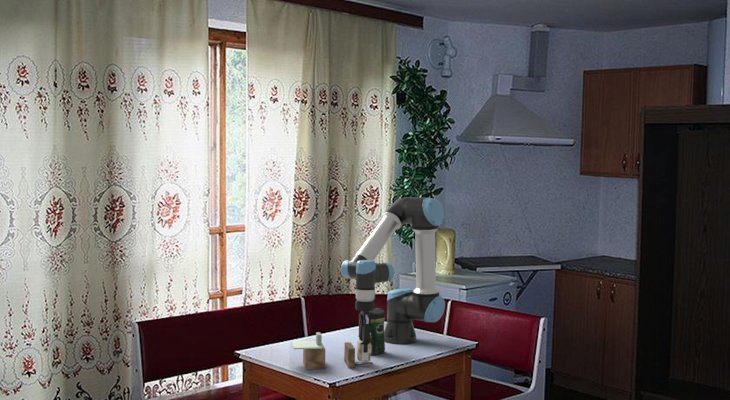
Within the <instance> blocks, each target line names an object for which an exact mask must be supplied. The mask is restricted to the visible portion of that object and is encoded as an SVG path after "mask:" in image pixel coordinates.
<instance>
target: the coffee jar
mask: <svg viewBox="0 0 730 400" xmlns="http://www.w3.org/2000/svg"><path fill="white" fill-rule="evenodd" d="M369 315H370V319H371V323H370V343H371V356H372V355H373V356H374V355H375V356H376V355H380V354H384V353H385V352H386V351H385V350H386V342H385V340H384V330H385V321H386V320H385V319H386V312H385V310H384V309H383V308H380V307H379V308H378V307H374V310H372V311H369Z"/></svg>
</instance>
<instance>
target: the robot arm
mask: <svg viewBox="0 0 730 400" xmlns="http://www.w3.org/2000/svg"><path fill="white" fill-rule="evenodd" d="M444 218H445V211H444V207H443V205H442V203H441V202H440V201H439V200H438V199H437V198H431V197H411V196H406V197H402V198H400V199H398V200H395V202H393V203H392V204H390V205H389V206H388V207H387V208H386V210H385V211H384V212H383V214H382V215H381V220H380V221H379V223H378V224H377V225H376V227H375V228H374V229H373V231H372V232H371V234H370V235H369V236H368V237H367V239H366V240H365V241H364V243H363V244H362V246H361V247H360V248H358V249H359V250H358V251H357V252H356V254H355V255H354V256H353V258H352V259H345V260H344V261H343V262H342V264H341V265H340V273H341V275H342V276H343V277H344V278H346V279H351V280H355V291H354V295H355V299H356V300H355V304H354V305H355V306H354V307H355V310H356V311H360V312H359V313H358V337H357V338H359V339H358V341H362V343H361V344H362V351H361V361H368V357H369V344H370V323H371V319H370V315H369V311H372V310H374V308H375V299H376V284H378V283H380V284H381V283H386V282H389V281H391V280H392V279H393V278H394V277H395V268H394V266H393V265H392V264H391V263H388V262H380V263H379V262H376V261H375V259H376V257H378V255H379V254H380V252H381V251H382V249H383V248H384V246H386V244H387V243H388V241H389V240H390V238H391V237H392V236H393V234H394V233H395V232H396V230H399V229H401V228H402V226H403V225H406V224H410V225H411V230H412V231H413V232H414V236H415V238H414V239H415V240H414V241H415V242H414V243H415V245H414V246H415V288H414V289H413V288H408V287H406V288H398V289H397V288H396V289H391V290H389V291H388V292H387V298H386V325H385V326H384V340H385V343H388V344H396V345H397V344H399V345H405V344H406V345H407V344H413V343H416V342H417V333H416V330H415V327H414V324H413V323H414V321H415V320H416V321H421V322H425V323H436V322H438V321H440V319H441V318H442V316H443V314H444V312H445V308H446V301H445V298H444V297H443V296H442V295H440V289H439V288H437V280H436V279H437V277H436V274H437V273H436V272H437V269H436V232H437V231H438V230H439V226H441V225H442V223H443V221H444Z"/></svg>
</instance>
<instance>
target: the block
mask: <svg viewBox="0 0 730 400" xmlns="http://www.w3.org/2000/svg"><path fill="white" fill-rule="evenodd" d="M361 343H362V341H361V340H357V351H356V353H357V354H356V356H357V357H356V359H357V360H358V361H361V351H362V344H361ZM371 356H372V355H371V343H370V344H369V357H368V361H369V362H371Z"/></svg>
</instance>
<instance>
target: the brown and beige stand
mask: <svg viewBox="0 0 730 400" xmlns="http://www.w3.org/2000/svg"><path fill="white" fill-rule="evenodd" d="M321 345H322V349H302V363H303V367H304V369H305V370H324V369H326V348H325V346H324V344H323V342H322V343H321ZM343 358H344V359H343V362H344V364H345V365H346V366H347V369H355V367H356V365H355V362H356V359H355V358H356V348H355V346H354V345H353V344H352V342H351V341H350V342H349V341H347V342H344V357H343Z"/></svg>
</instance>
